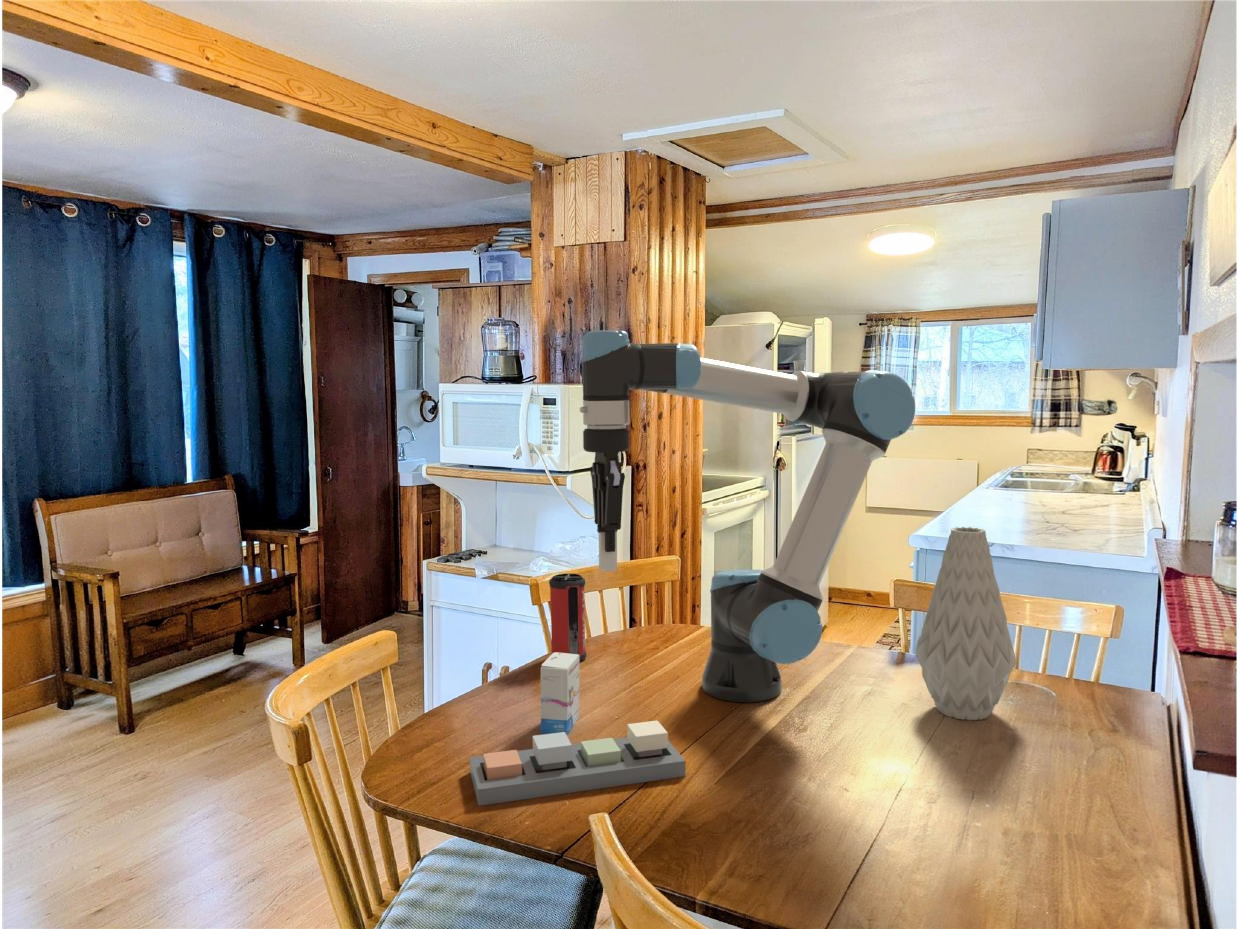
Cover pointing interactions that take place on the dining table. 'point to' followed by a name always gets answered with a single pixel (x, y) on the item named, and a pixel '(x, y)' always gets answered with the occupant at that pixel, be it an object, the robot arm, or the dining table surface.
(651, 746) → the key cream
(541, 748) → the key bluegrey
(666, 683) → the dining table surface
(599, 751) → the key sage
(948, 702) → the vase
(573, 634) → the speaker
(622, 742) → the keypad base
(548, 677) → the ink box
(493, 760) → the key terracotta
